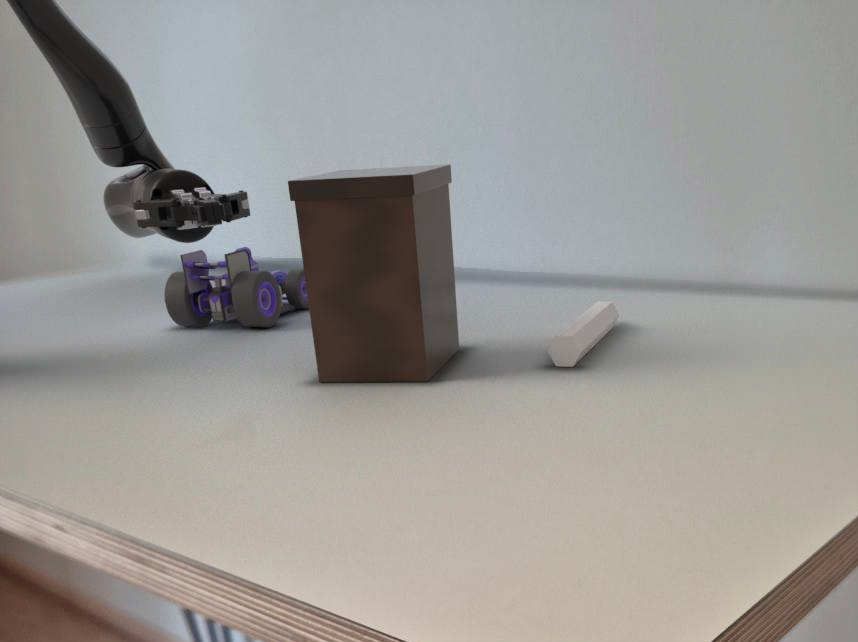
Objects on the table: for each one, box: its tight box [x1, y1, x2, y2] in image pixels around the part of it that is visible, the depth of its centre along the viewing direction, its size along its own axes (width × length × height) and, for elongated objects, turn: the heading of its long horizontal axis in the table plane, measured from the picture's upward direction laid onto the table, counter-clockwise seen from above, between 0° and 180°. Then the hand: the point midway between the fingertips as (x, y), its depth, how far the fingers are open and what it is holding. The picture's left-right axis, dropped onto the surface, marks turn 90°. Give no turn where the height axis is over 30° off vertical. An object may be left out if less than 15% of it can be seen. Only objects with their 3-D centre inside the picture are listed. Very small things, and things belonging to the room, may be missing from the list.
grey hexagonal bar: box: [547, 301, 620, 368], centre depth 74 cm, size 3×2×16 cm
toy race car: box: [164, 246, 309, 328], centre depth 92 cm, size 10×15×6 cm, turn 161°
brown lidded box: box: [287, 164, 460, 383], centre depth 69 cm, size 9×10×13 cm
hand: (214, 213), depth 98 cm, fingers closed
